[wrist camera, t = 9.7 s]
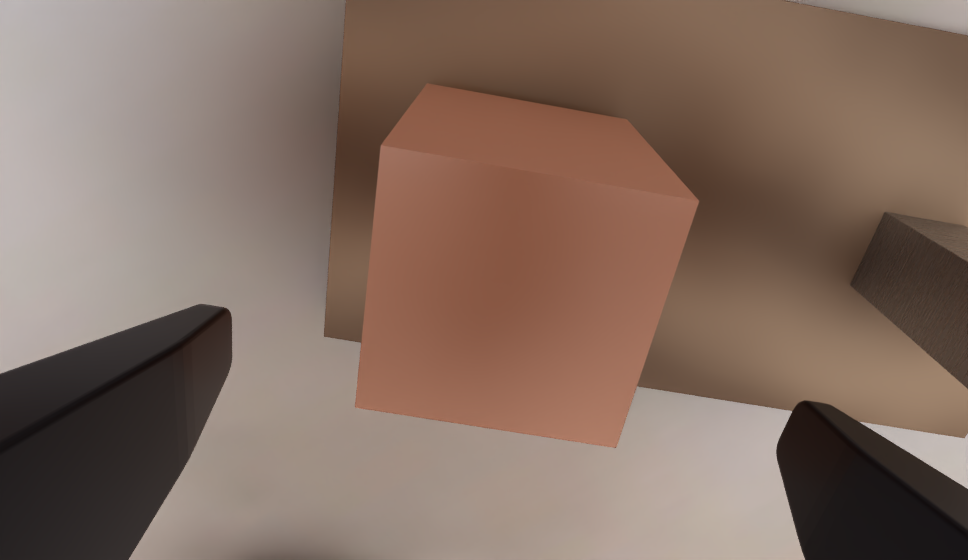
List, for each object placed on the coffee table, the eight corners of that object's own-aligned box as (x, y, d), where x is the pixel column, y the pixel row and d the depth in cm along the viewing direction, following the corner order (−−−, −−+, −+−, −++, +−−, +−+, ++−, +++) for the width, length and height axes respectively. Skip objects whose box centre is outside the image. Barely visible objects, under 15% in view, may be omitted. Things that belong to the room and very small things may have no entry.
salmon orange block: (579, 296, 18) (615, 448, 12) (404, 266, 18) (354, 407, 12) (626, 119, 16) (699, 201, 10) (427, 82, 16) (380, 145, 10)
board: (942, 416, 22) (964, 438, 21) (332, 318, 21) (323, 336, 20) (1152, 72, 17) (1195, 78, 16) (361, -78, 16) (351, -82, 15)
